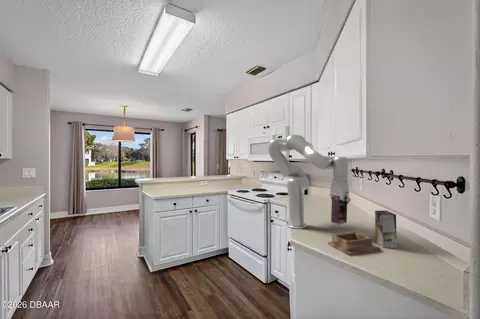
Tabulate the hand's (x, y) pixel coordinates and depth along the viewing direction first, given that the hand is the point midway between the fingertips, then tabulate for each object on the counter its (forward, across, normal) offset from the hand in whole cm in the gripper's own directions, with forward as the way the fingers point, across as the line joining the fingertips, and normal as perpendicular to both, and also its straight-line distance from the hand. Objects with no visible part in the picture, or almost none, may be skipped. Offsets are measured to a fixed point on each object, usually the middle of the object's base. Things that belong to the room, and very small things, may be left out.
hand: (339, 210), depth 127 cm
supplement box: (+7, 0, 0) cm, 7 cm away
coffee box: (+13, +19, +12) cm, 26 cm away
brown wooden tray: (+13, +17, -6) cm, 23 cm away
